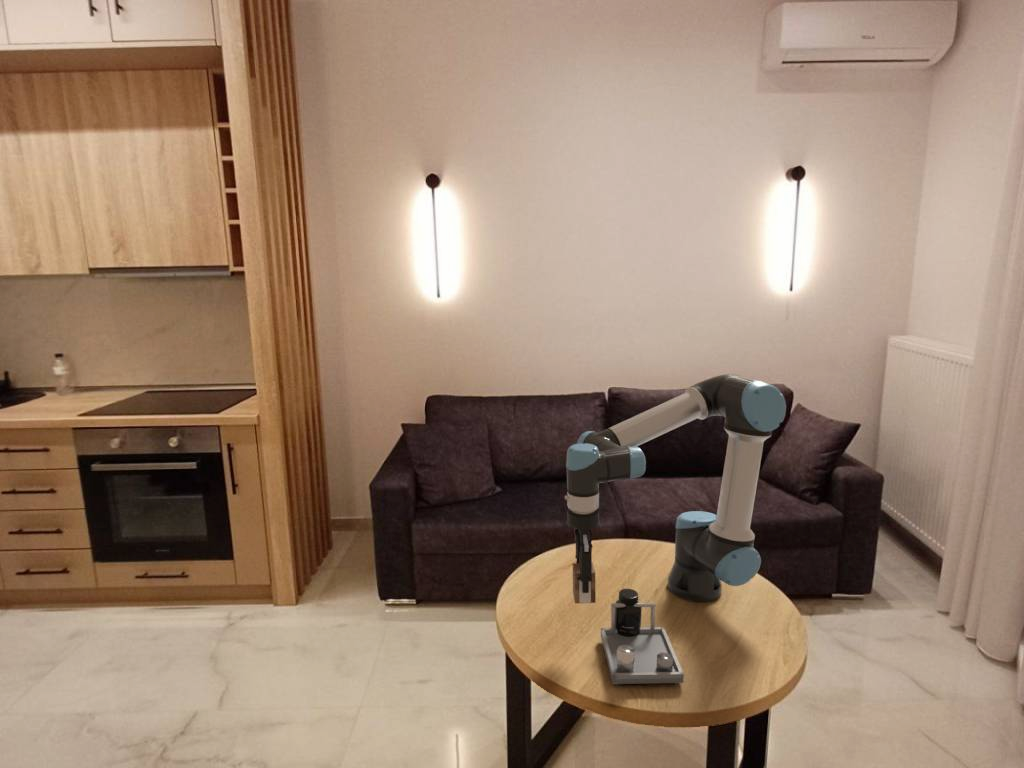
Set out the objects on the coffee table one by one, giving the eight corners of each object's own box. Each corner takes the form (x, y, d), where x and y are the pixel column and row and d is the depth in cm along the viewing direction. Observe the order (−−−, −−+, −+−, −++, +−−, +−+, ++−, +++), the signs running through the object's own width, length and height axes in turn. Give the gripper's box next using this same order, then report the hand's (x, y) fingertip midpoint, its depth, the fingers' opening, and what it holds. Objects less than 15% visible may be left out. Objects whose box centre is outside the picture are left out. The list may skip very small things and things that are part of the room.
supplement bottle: (624, 646, 153) (625, 603, 151) (608, 632, 159) (608, 590, 156) (646, 638, 156) (647, 595, 154) (629, 625, 162) (630, 583, 160)
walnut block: (592, 591, 154) (592, 562, 153) (595, 602, 150) (595, 572, 148) (572, 592, 154) (572, 563, 153) (575, 603, 150) (574, 573, 148)
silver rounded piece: (632, 664, 143) (632, 644, 142) (635, 675, 140) (636, 655, 139) (615, 664, 143) (615, 645, 142) (618, 675, 140) (618, 656, 139)
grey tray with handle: (663, 638, 157) (664, 601, 154) (683, 687, 139) (684, 645, 137) (600, 640, 157) (601, 602, 154) (612, 688, 139) (613, 647, 137)
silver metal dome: (670, 663, 143) (670, 652, 143) (674, 674, 140) (674, 662, 139) (654, 664, 143) (655, 652, 143) (658, 674, 140) (659, 662, 139)
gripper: (563, 494, 156) (565, 578, 161) (571, 524, 138) (572, 617, 143) (593, 493, 156) (593, 577, 161) (604, 523, 138) (604, 616, 143)
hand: (583, 596), depth 152 cm, fingers closed on walnut block, 5 cm apart
